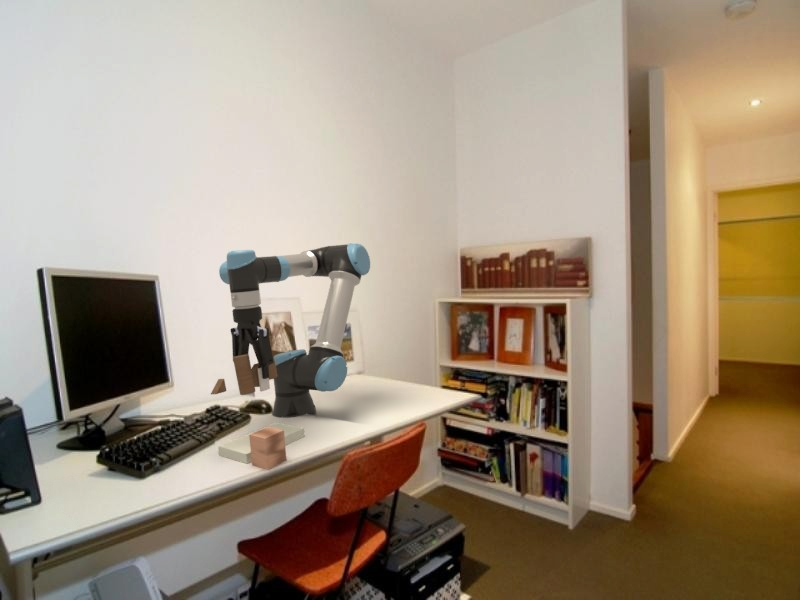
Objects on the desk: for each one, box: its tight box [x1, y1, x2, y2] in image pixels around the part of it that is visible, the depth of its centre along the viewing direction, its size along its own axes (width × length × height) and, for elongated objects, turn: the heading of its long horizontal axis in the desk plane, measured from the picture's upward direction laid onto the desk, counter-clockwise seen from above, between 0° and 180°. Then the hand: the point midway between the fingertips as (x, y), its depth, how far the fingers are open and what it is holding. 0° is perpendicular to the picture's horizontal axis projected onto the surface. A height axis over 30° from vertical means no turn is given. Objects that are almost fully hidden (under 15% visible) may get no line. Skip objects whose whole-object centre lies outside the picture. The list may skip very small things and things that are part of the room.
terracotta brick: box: [249, 427, 287, 471], centre depth 112 cm, size 6×6×8 cm
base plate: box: [217, 421, 306, 464], centre depth 124 cm, size 20×12×2 cm, turn 146°
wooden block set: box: [210, 353, 278, 396], centre depth 121 cm, size 18×9×10 cm, turn 140°
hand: (255, 388), depth 122 cm, fingers closed on wooden block set, 7 cm apart
